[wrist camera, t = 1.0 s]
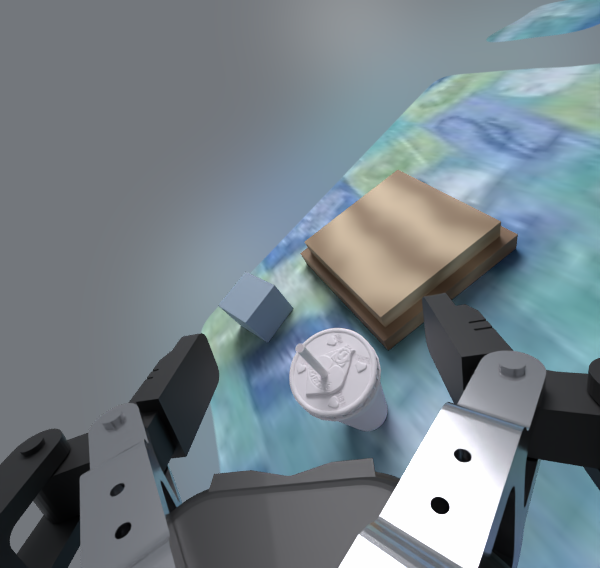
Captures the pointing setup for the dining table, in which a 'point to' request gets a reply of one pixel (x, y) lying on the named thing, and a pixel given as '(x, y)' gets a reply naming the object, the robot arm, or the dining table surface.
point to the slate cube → (256, 306)
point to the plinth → (404, 253)
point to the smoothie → (339, 379)
